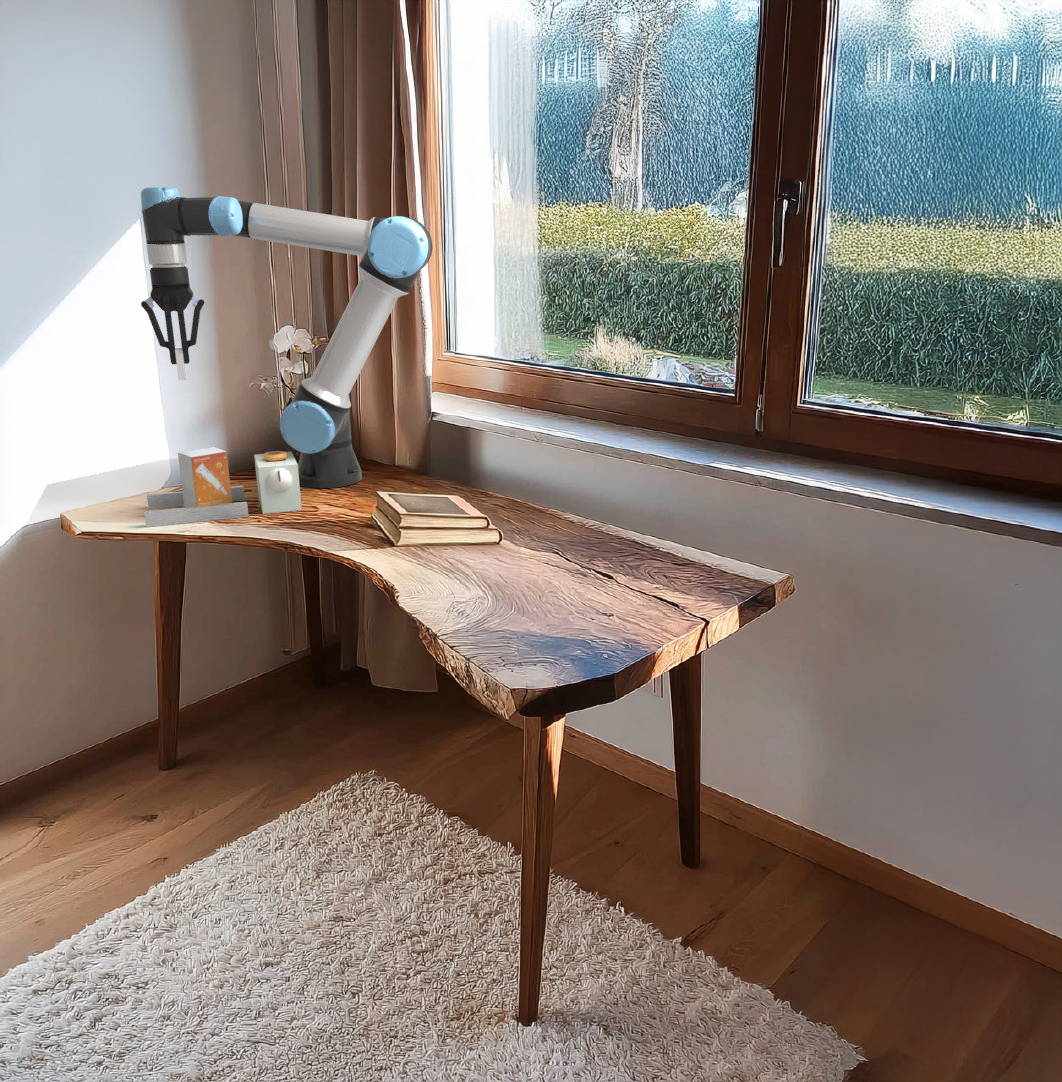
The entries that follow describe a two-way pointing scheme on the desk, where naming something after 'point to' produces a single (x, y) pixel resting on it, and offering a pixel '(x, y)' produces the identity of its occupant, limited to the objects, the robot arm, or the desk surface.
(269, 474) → the gauge cabinet
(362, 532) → the desk surface
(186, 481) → the small box
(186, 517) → the guide rails
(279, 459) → the button
